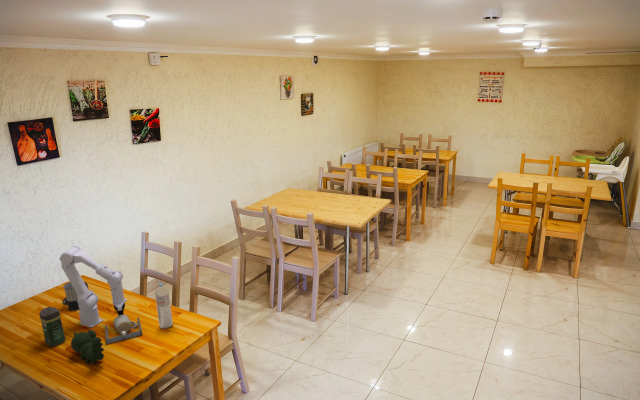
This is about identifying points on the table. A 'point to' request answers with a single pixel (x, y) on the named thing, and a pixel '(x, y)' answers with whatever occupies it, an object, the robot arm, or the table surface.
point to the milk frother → (71, 297)
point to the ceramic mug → (123, 323)
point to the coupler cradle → (123, 334)
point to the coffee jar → (52, 326)
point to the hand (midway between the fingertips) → (121, 316)
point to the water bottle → (163, 307)
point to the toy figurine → (88, 346)
